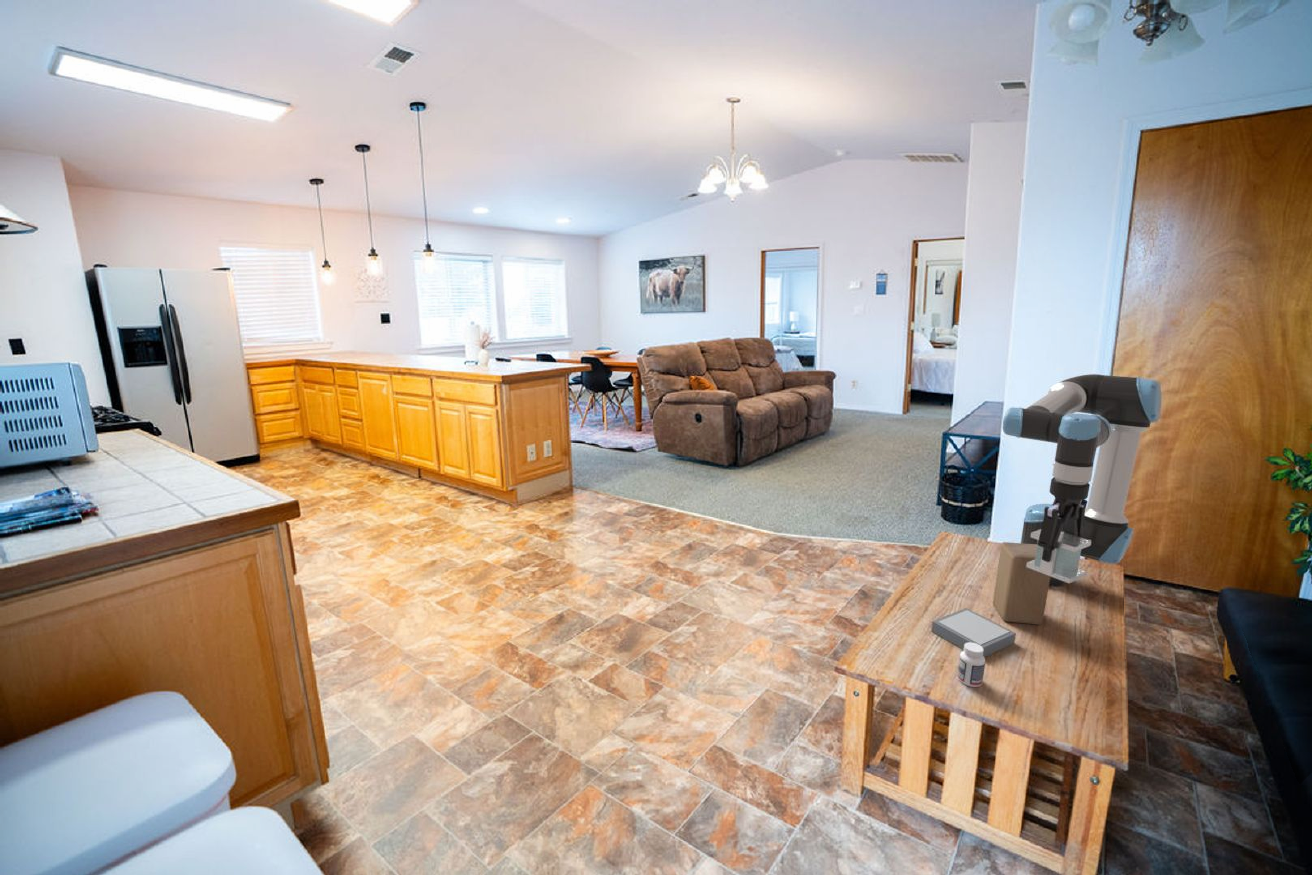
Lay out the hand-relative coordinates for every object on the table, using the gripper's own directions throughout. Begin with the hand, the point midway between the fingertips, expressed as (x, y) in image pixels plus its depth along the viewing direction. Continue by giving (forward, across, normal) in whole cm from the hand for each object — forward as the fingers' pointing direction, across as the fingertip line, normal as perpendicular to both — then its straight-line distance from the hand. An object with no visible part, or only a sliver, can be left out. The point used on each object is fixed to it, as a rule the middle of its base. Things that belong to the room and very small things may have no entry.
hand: (1055, 568), depth 145 cm
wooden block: (+23, -11, -13) cm, 28 cm away
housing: (+1, 0, 0) cm, 1 cm away
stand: (+23, +10, -12) cm, 28 cm away
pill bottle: (+23, +27, -1) cm, 35 cm away
